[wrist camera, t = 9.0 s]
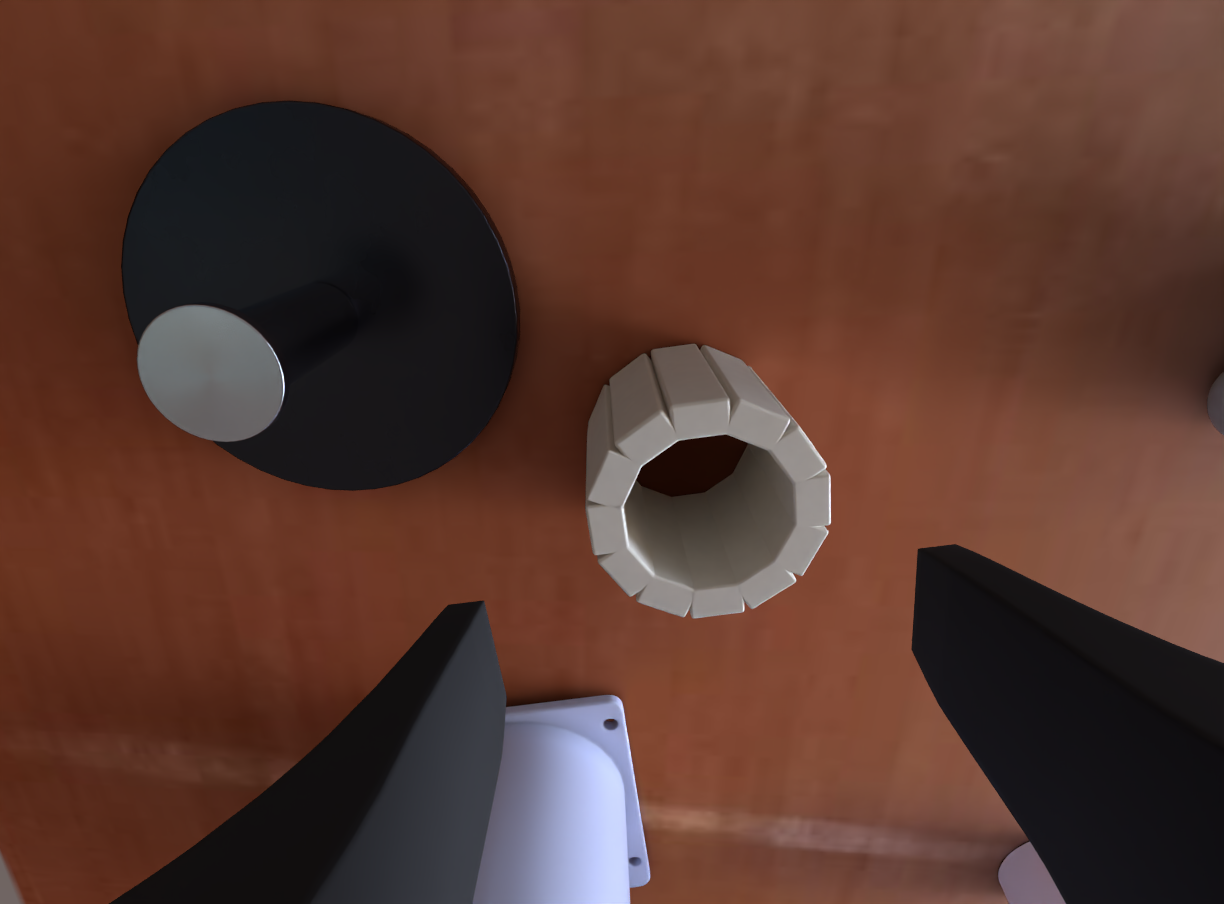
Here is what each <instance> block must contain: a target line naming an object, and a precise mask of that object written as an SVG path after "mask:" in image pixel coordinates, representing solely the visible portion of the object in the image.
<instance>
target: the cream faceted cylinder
mask: <svg viewBox="0 0 1224 904" xmlns="http://www.w3.org/2000/svg"><path fill="white" fill-rule="evenodd" d="M651 360H652V361H651ZM609 382H610V386H608V385H604V386H603V388H602V391H601V393H600V395H599V398H598V400H597V402H596V405H595V407H594V410H593V412H592V414H591V417H590V419H589V421H588V431H587V460H586V502H585V509H586V515H587V521H588V527H589V533H590V539H591V545H592V551H593V554H594V555H598V563H599V564H600V565H601V566H602V568H603V569H604V570H605V571H606V572H607V573H608V574H609V575H610V576H611V577H612V578H613V580H614V581H615V582H616V583H617V584H618V585H619V586H620V587H621V588H622V589H623V590H624V592H625V593H626V594H627V595H628V596H633V595H634V594H636V601H637V602H639V603H641V604H645V605H648V606H651V607H654V608H657V609H660V610H663V611H666V612H669V613H672V614H675V615H678V616H681V617H685V615H686V614H687V612H688V610H689V609H690V613H691V616H692V618H701V617H708V616H716V615H724V614H732V613H740V612H744V601H745V602H746V603H747V605H748V606H749V607H750V608H751V609H753V608H755V607H757V606H758V605H760V604H761V603H763V602H765V601H766V600H768V599H769V598H771V597H773V596H774V595H776V594H777V593H779V592H781V591H782V590H784V589H785V588H787V587H789V586H790V585H792V584H793V583H795V582H796V579H795V577H794V575H793V573H795V574H798V575H801V576H802V575H803V574H804V572H805V571H806V569H807V567H808V566H809V564H810V562H811V561H812V559H813V557H814V556H815V554H816V552H817V551H818V549H819V547H820V546H821V544H822V542H823V541H824V539H825V538H826V536H827V534H828V531H827V529H826V528H825V525H829V524H830V523H831V495H830V474H829V473H828V472H827V471H826V469H825V468H826V463H825V461H824V460H823V459H822V457H821V456H820V454H819V453H818V452H817V450H816V449H815V447H814V446H813V444H812V443H811V442H810V440H809V439H808V437H807V436H806V435H805V433H804V432H803V430H802V429H801V427H800V426H799V425H798V424H797V422H796V421H795V420H794V419H793V418H792V416H791V415H790V414H789V413H788V412H787V410H786V409H785V408H784V407H783V406H782V404H781V403H780V402H779V401H778V399H777V398H776V397H775V396H774V395H773V393H772V392H771V391H770V390H769V389H768V387H767V386H766V385H765V384H764V383H763V381H762V380H761V379H760V378H759V377H758V375H757V374H756V373H755V372H754V371H753V369H752V368H751V367H750V366H746V364H745V363H744V362H743V361H742V360H741V359H738V358H736V357H733V356H731V355H728V354H726V353H724V352H721V351H719V350H716V349H714V348H711V347H709V346H707V345H703V346H702V347H701V349H700V350H699V348H698V347H697V345H696V344H688V345H680V346H673V347H666V348H658V349H653V350H651V359H650V358H649V357H648V356H647V354H645V353H644V354H641V355H640V356H639V357H637V358H636V359H635V360H634V361H632V362H631V363H630V364H628V365H627V366H626V367H624V368H623V369H622V370H620V371H619V372H618V373H616V374H615V375H614V376H612V377H611V378H610V380H609ZM724 434H726V435H729V436H732V437H734V438H737V439H739V440H742V441H744V442H747V443H748V445H747V447H746V449H745V451H744V453H743V455H742V457H741V458H740V460H739V462H738V464H737V466H736V468H735V470H734V472H733V474H731V475H730V476H728V477H727V478H725V479H724V480H722V481H721V482H719V483H718V484H717V485H715V486H714V487H712V488H711V489H709V490H708V491H706V492H705V493H697V494H690V495H682V496H675V497H670V496H667V495H665V494H662V493H659V492H656V491H654V490H651V489H648V488H645V487H643V486H641V485H640V484H639V483H638V482H637V481H636V478H637V476H638V474H639V472H640V469H641V467H642V466H643V465H645V464H646V463H648V462H649V461H650V460H652V459H653V458H655V457H656V456H658V455H659V454H660V453H662V452H663V451H665V450H666V449H667V448H669V447H670V446H672V445H673V444H674V443H676V442H677V441H679V440H687V439H694V438H702V437H709V436H717V435H724Z"/></svg>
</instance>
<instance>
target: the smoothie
mask: <svg viewBox="0 0 1224 904" xmlns="http://www.w3.org/2000/svg"><path fill="white" fill-rule="evenodd" d="M998 879H999V882H1000V885H1001V887H1002V889H1003V891H1004V894H1005V896H1006V898H1007V900H1008V903H1009V904H1066V903H1065V901H1064V899H1063V898H1062V896H1061V894H1060V892H1059V890H1058V889H1057V887H1056V885H1055V883H1054V881H1053V879H1052V878H1051V876H1050V874H1049V872H1048V870H1047V869H1046V867H1045V865H1044V863H1043V862H1042V860H1041V859H1040V857H1039V855H1038V854H1037V852H1036V851H1035V849H1034V847H1033V846H1032V844H1031V842H1028V843H1025V844H1023V845H1022V846H1020V847H1018V848H1017V849H1015V850H1014V851H1013V852H1011V853H1010V854H1009V855H1008V856H1007V857H1006V858H1005V860H1004V861H1003V862H1002V864H1001V866H1000V869H999V872H998Z"/></svg>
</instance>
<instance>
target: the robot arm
mask: <svg viewBox="0 0 1224 904" xmlns="http://www.w3.org/2000/svg"><path fill="white" fill-rule="evenodd" d="M912 651H913V653H914V656H915V658H916V660H917V662H918V664H919V666H920V668H921V670H922V672H923V674H924V677H925V679H926V681H927V683H928V685H929V687H930V688H931V690H932V692H933V694H934V696H935V698H936V700H937V702H938V704H939V706H940V707H941V709H942V710H943V712H944V713H945V715H946V717H947V718H948V720H949V721H950V723H951V724H952V726H953V727H954V729H955V730H956V732H957V733H958V735H959V736H960V738H961V739H962V741H963V742H964V744H965V745H966V747H967V748H968V750H969V751H970V753H971V754H972V756H973V757H974V759H975V760H976V762H977V763H978V765H979V766H980V768H981V769H982V771H983V772H984V774H985V775H986V777H987V778H988V780H989V781H990V782H991V784H992V785H993V787H994V788H995V790H996V791H997V793H998V794H999V796H1000V797H1001V799H1002V800H1003V802H1004V803H1005V805H1006V806H1007V808H1008V809H1009V811H1010V812H1011V814H1012V815H1013V817H1014V818H1015V820H1016V821H1017V823H1018V824H1019V825H1020V827H1021V828H1022V830H1023V831H1024V833H1025V834H1026V836H1027V838H1028V839H1029V841H1030V842H1031V844H1032V846H1033V847H1034V849H1035V851H1036V852H1037V854H1038V855H1039V857H1040V859H1041V860H1042V862H1043V863H1044V865H1045V867H1046V869H1047V870H1048V872H1049V874H1050V876H1051V878H1052V879H1053V881H1054V883H1055V885H1056V887H1057V889H1058V890H1059V892H1060V894H1061V896H1062V898H1063V899H1064V901H1065V903H1066V904H1224V663H1222V662H1219V661H1216V660H1213V659H1211V658H1208V657H1205V656H1202V655H1200V654H1197V653H1195V652H1192V651H1190V650H1187V649H1185V648H1182V647H1180V646H1177V645H1175V644H1172V643H1170V642H1167V641H1165V640H1163V639H1160V638H1158V637H1156V636H1153V635H1151V634H1149V633H1146V632H1144V631H1142V630H1139V629H1137V628H1135V627H1132V626H1130V625H1128V624H1125V623H1123V622H1121V621H1118V620H1116V619H1114V618H1112V617H1110V616H1107V615H1105V614H1103V613H1101V612H1099V611H1096V610H1094V609H1092V608H1090V607H1088V606H1086V605H1083V604H1081V603H1079V602H1077V601H1075V600H1073V599H1071V598H1069V597H1067V596H1064V595H1062V594H1060V593H1058V592H1056V591H1054V590H1052V589H1050V588H1048V587H1046V586H1044V585H1042V584H1040V583H1038V582H1036V581H1033V580H1031V579H1029V578H1027V577H1025V576H1023V575H1021V574H1019V573H1017V572H1015V571H1013V570H1011V569H1009V568H1007V567H1005V566H1003V565H1001V564H999V563H997V562H994V561H992V560H990V559H988V558H986V557H984V556H982V555H980V554H977V553H975V552H973V551H971V550H968V549H966V548H963V547H961V546H958V545H956V544H954V545H945V546H937V547H929V548H920V549H918V556H917V572H916V588H915V604H914V620H913V636H912ZM506 698H507V696H506V692H505V688H504V684H503V679H502V675H501V671H500V666H499V662H498V658H497V654H496V649H495V645H494V641H493V637H492V632H491V628H490V624H489V620H488V615H487V611H486V607H485V603H484V601H477V602H468V603H460V604H451V605H448V606H447V607H446V608H445V609H444V610H443V611H442V612H441V613H440V614H439V615H438V617H437V618H436V619H435V620H434V621H433V622H432V623H431V625H430V626H429V627H428V628H427V629H426V630H425V632H424V633H423V634H422V635H421V636H420V637H419V639H418V640H417V641H416V642H415V643H414V644H413V645H412V647H411V648H410V649H409V650H408V651H407V652H406V654H405V655H404V656H403V657H402V658H401V659H400V660H399V661H398V662H397V664H396V665H395V666H394V667H393V668H392V669H391V670H390V671H389V673H388V674H387V675H386V676H385V677H384V678H383V679H382V680H381V681H380V683H379V684H378V685H377V686H376V687H375V688H374V689H373V690H372V691H371V692H370V693H369V694H368V695H367V696H366V697H365V698H364V699H363V700H362V701H361V702H360V703H359V704H358V705H357V706H356V707H355V708H354V709H353V710H352V711H351V712H350V713H349V714H348V715H347V716H346V718H345V719H344V720H343V721H342V722H341V723H340V724H339V725H338V726H337V727H336V728H335V729H334V730H333V731H332V732H331V733H330V734H329V735H328V736H327V737H326V738H324V739H323V740H322V741H321V742H320V743H319V744H318V745H317V746H316V747H315V748H314V749H313V750H312V751H310V752H309V753H308V754H307V755H306V756H305V757H304V758H303V759H302V760H301V761H299V762H298V763H297V764H296V765H295V766H294V767H292V768H291V769H290V770H289V771H288V772H287V773H285V774H284V775H283V776H282V777H281V778H280V779H279V780H277V781H276V782H275V783H274V784H273V785H272V786H270V787H269V788H268V789H267V790H266V791H264V792H263V793H262V794H261V795H259V796H258V797H257V798H256V799H254V800H253V801H252V802H250V803H249V804H248V805H247V806H245V807H244V808H243V809H241V810H240V811H239V812H237V813H236V814H235V815H233V816H232V817H231V818H230V819H228V820H227V821H226V822H224V823H223V824H222V825H220V826H219V827H218V828H216V829H215V830H214V831H213V832H211V833H210V834H209V835H207V836H206V837H205V838H203V839H202V840H201V841H199V842H198V843H197V844H196V845H194V846H193V847H191V848H190V849H189V850H187V851H186V852H185V853H183V854H182V855H180V856H179V857H177V858H176V859H175V860H173V861H172V862H170V863H169V864H167V865H166V866H164V867H163V868H162V869H160V870H159V871H157V872H156V873H154V874H153V875H151V876H150V877H149V878H147V879H146V880H144V881H143V882H141V883H140V884H138V885H137V886H135V887H134V888H132V889H131V890H129V891H127V892H126V893H124V894H123V895H121V896H120V897H118V898H117V899H115V900H114V901H112V902H111V903H109V904H630V890H629V888H631V887H639V886H643V885H645V884H646V883H648V881H649V880H650V869H649V863H648V856H647V850H646V844H645V838H644V832H643V826H642V820H641V814H640V808H639V801H638V795H637V789H636V783H635V777H634V771H633V765H632V759H631V752H630V746H629V740H628V734H627V728H626V722H625V716H624V710H623V704H622V702H621V700H620V699H619V698H618V697H616V696H613V695H601V696H593V697H585V698H576V699H568V700H560V701H552V702H544V703H536V704H528V705H520V706H511V707H506ZM607 719H615V721H612V722H610V721H606V720H607Z"/></svg>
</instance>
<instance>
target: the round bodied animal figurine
mask: <svg viewBox="0 0 1224 904" xmlns="http://www.w3.org/2000/svg"><path fill="white" fill-rule="evenodd" d="M1207 409H1208V415H1209V418H1210V420H1211V422H1212V424H1213V425H1214V427H1215V428H1216V429H1217V430H1218V431H1219V432H1220V433H1221V434H1223V435H1224V371H1223V372H1222V373H1221V374H1220V375H1219V376H1218V378H1217V379H1216V380H1215V381H1214V383H1213V384H1212V386H1211V388H1210V391H1209V394H1208V398H1207Z"/></svg>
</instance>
